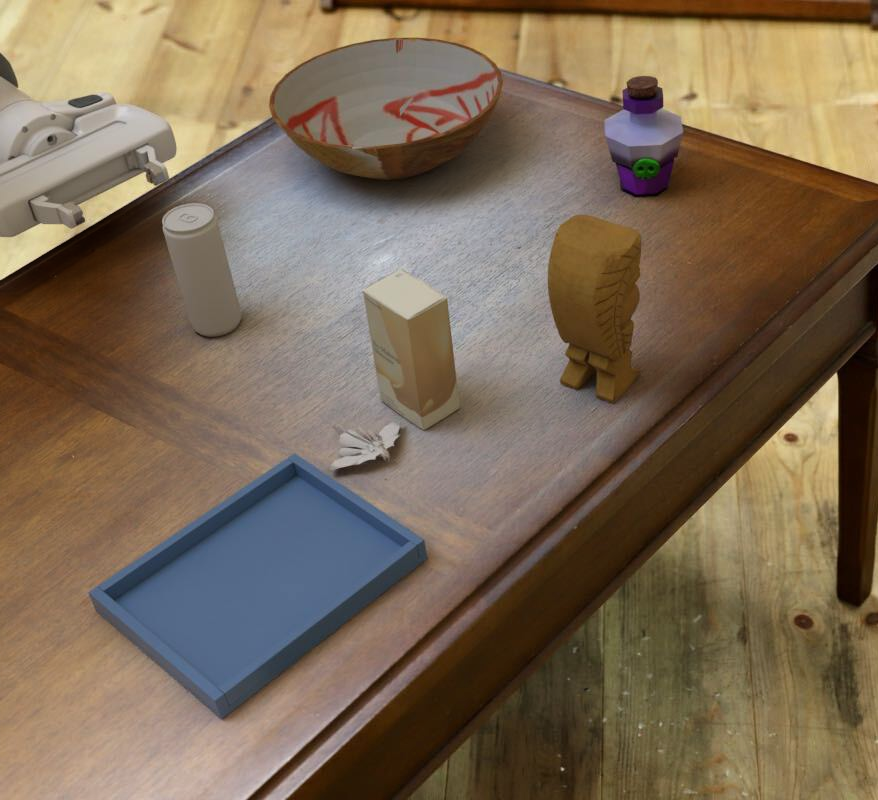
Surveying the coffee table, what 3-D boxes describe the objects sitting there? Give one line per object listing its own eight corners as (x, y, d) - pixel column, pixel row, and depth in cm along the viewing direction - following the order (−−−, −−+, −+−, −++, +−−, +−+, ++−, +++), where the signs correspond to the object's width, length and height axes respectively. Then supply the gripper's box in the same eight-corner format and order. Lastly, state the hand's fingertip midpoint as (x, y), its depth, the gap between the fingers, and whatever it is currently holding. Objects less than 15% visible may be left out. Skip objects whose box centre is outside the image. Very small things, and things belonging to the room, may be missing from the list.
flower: (299, 463, 117) (290, 437, 115) (370, 414, 121) (362, 389, 120) (354, 491, 112) (345, 464, 110) (426, 440, 116) (419, 413, 115)
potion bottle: (624, 213, 142) (621, 109, 135) (591, 174, 148) (586, 72, 141) (699, 192, 145) (700, 89, 137) (663, 155, 151) (662, 54, 143)
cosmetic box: (378, 401, 121) (357, 287, 113) (417, 377, 123) (398, 264, 115) (425, 433, 117) (406, 319, 109) (464, 409, 120) (448, 294, 112)
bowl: (267, 221, 144) (251, 154, 139) (299, 105, 163) (286, 42, 158) (507, 208, 144) (500, 141, 139) (511, 93, 163) (505, 30, 158)
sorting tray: (221, 719, 95) (215, 700, 94) (95, 610, 103) (87, 592, 102) (428, 558, 106) (424, 539, 105) (299, 471, 114) (294, 452, 113)
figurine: (651, 373, 122) (647, 231, 113) (612, 415, 118) (605, 272, 108) (584, 349, 125) (576, 209, 116) (544, 390, 121) (531, 248, 111)
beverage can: (218, 345, 128) (188, 237, 120) (180, 330, 130) (148, 222, 122) (253, 318, 131) (226, 210, 123) (216, 303, 133) (187, 197, 125)
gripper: (-66, 167, 130) (11, 216, 123) (118, 84, 141) (199, 125, 134) (-43, 224, 134) (33, 274, 127) (134, 139, 145) (214, 181, 138)
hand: (120, 197), depth 131 cm, fingers open, 8 cm apart
